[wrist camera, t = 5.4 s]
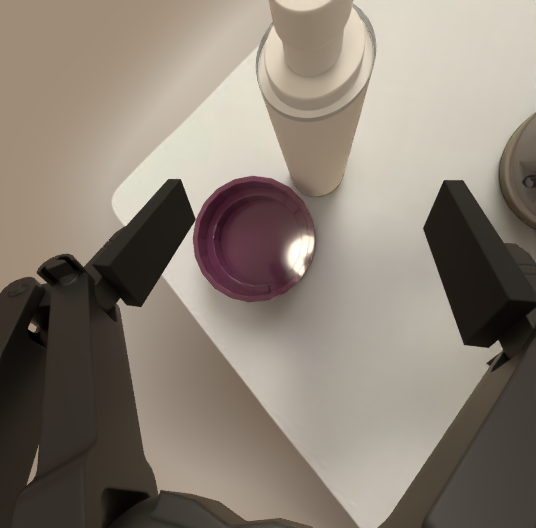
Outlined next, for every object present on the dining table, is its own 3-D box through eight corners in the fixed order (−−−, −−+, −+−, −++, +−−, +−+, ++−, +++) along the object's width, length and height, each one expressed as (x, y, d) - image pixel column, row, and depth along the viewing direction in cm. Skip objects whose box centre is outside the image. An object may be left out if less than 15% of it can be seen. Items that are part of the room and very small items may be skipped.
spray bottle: (281, 167, 34) (175, -78, 9) (323, 133, 32) (332, -255, 8) (311, 207, 33) (284, 58, 8) (355, 174, 32) (474, -112, 7)
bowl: (241, 171, 35) (227, 155, 29) (335, 219, 32) (338, 211, 27) (195, 262, 36) (174, 263, 31) (281, 314, 34) (274, 324, 29)
